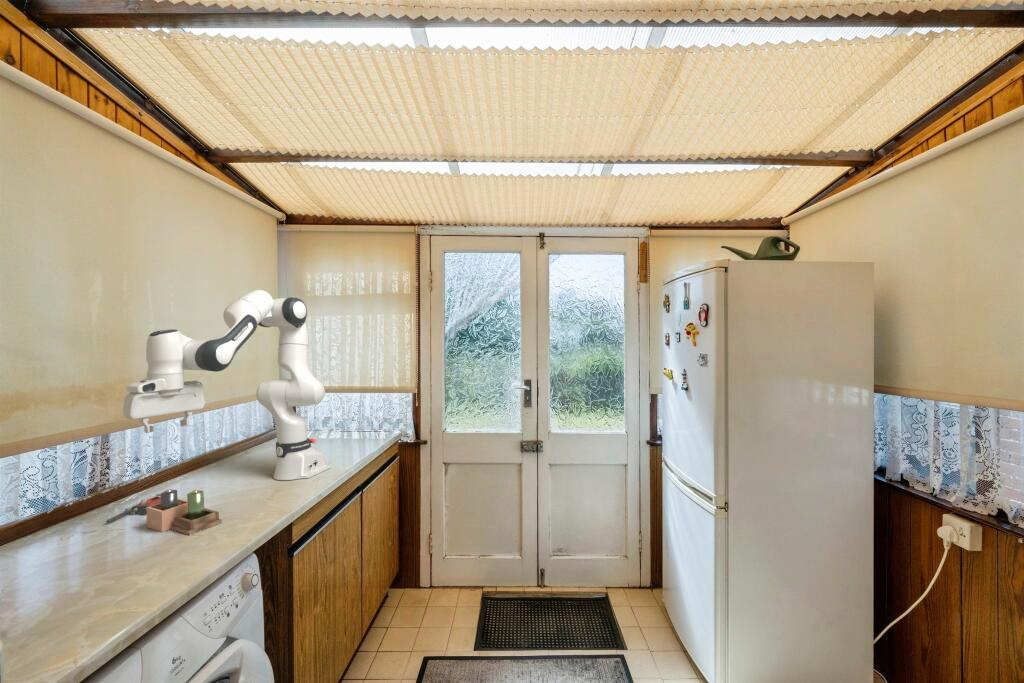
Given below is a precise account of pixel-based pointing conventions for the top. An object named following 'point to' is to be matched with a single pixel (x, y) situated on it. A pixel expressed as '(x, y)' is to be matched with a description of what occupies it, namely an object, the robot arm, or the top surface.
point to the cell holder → (196, 522)
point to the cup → (165, 515)
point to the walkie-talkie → (139, 507)
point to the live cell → (195, 504)
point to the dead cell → (169, 499)
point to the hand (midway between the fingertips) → (167, 428)
